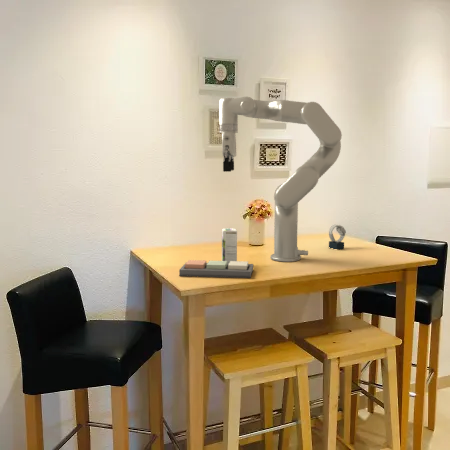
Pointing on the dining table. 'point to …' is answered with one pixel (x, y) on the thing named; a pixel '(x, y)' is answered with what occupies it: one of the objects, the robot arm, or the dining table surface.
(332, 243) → the watch
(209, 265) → the sage key
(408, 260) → the dining table surface
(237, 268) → the cream key
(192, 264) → the terracotta key
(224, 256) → the syrup box
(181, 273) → the keypad board
